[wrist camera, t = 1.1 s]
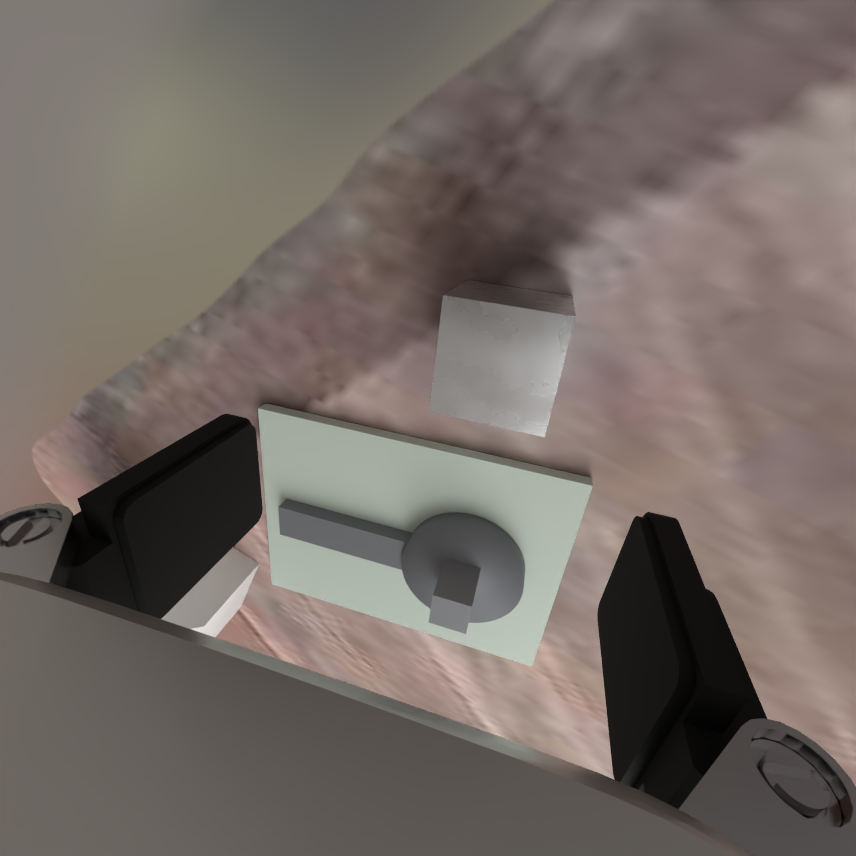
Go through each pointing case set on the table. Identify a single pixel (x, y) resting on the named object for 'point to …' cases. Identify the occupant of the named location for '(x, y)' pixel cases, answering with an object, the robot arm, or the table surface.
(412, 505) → the board
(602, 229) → the table surface
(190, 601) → the corner bracket
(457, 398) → the brushed aluminum cube
